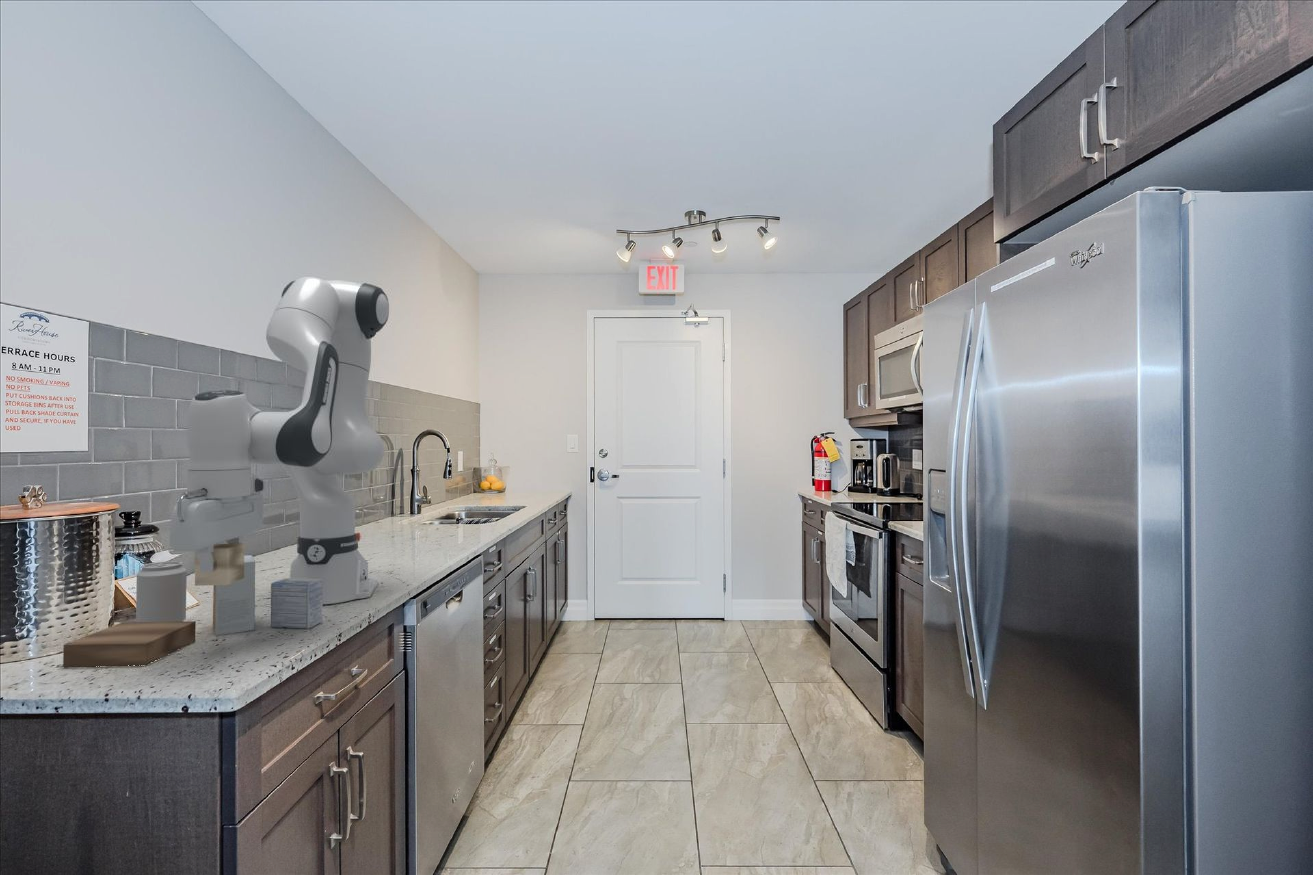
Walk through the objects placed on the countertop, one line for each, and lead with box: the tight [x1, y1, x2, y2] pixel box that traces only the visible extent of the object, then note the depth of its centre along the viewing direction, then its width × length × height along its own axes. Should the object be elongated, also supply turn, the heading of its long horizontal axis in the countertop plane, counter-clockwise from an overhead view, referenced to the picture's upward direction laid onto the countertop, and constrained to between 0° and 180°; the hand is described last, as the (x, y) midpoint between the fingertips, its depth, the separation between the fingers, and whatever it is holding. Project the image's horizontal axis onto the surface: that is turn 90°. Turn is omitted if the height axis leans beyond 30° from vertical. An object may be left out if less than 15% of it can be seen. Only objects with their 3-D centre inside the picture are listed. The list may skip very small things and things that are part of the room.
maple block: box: [194, 542, 245, 587], centre depth 105 cm, size 5×5×6 cm
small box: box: [212, 554, 256, 637], centre depth 117 cm, size 8×6×13 cm
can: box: [135, 560, 188, 622], centre depth 118 cm, size 8×8×12 cm
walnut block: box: [62, 620, 196, 668], centre depth 103 cm, size 12×12×4 cm
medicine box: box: [270, 577, 324, 629], centre depth 120 cm, size 8×4×9 cm, turn 84°
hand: (220, 567), depth 105 cm, fingers closed on maple block, 5 cm apart
